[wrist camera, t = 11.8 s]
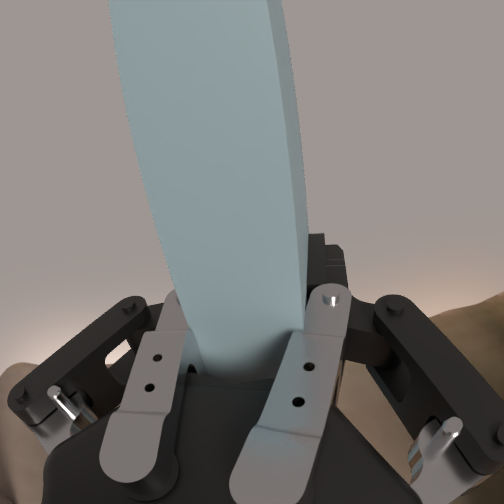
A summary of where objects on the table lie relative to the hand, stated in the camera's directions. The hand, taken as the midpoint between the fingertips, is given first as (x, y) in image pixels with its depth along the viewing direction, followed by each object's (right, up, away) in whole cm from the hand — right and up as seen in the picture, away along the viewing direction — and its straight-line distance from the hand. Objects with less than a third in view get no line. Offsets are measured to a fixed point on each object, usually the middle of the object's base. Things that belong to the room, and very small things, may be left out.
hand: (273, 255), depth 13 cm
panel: (+2, -14, +5) cm, 15 cm away
